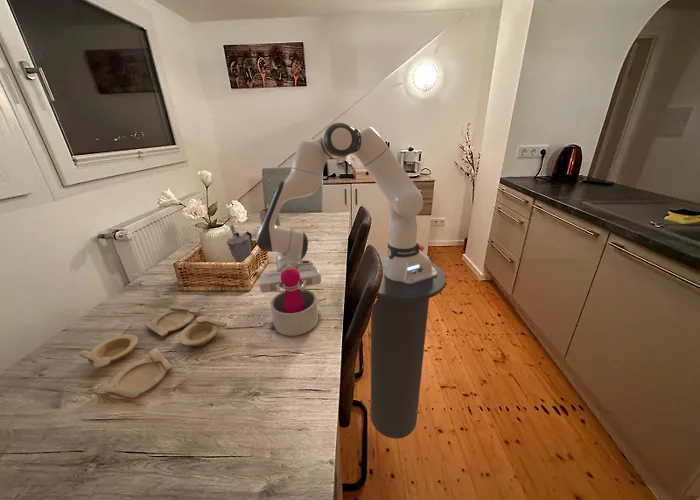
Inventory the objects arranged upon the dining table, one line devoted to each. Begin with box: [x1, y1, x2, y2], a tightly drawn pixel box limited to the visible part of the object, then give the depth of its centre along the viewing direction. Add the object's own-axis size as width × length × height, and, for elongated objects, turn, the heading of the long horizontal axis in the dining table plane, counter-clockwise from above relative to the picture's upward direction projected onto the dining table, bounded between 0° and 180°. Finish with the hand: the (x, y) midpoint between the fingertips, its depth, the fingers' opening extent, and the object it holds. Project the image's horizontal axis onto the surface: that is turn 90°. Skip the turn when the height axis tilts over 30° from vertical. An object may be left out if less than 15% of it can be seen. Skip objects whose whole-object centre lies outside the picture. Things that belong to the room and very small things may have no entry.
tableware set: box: [78, 304, 228, 400], centre depth 84 cm, size 35×29×4 cm
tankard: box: [259, 203, 283, 227], centre depth 178 cm, size 20×13×15 cm, turn 13°
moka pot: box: [226, 230, 253, 263], centre depth 122 cm, size 10×15×20 cm, turn 170°
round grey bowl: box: [270, 288, 319, 337], centre depth 93 cm, size 15×15×8 cm
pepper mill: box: [281, 265, 305, 313], centre depth 90 cm, size 7×7×20 cm
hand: (292, 291), depth 89 cm, fingers closed on pepper mill, 5 cm apart
